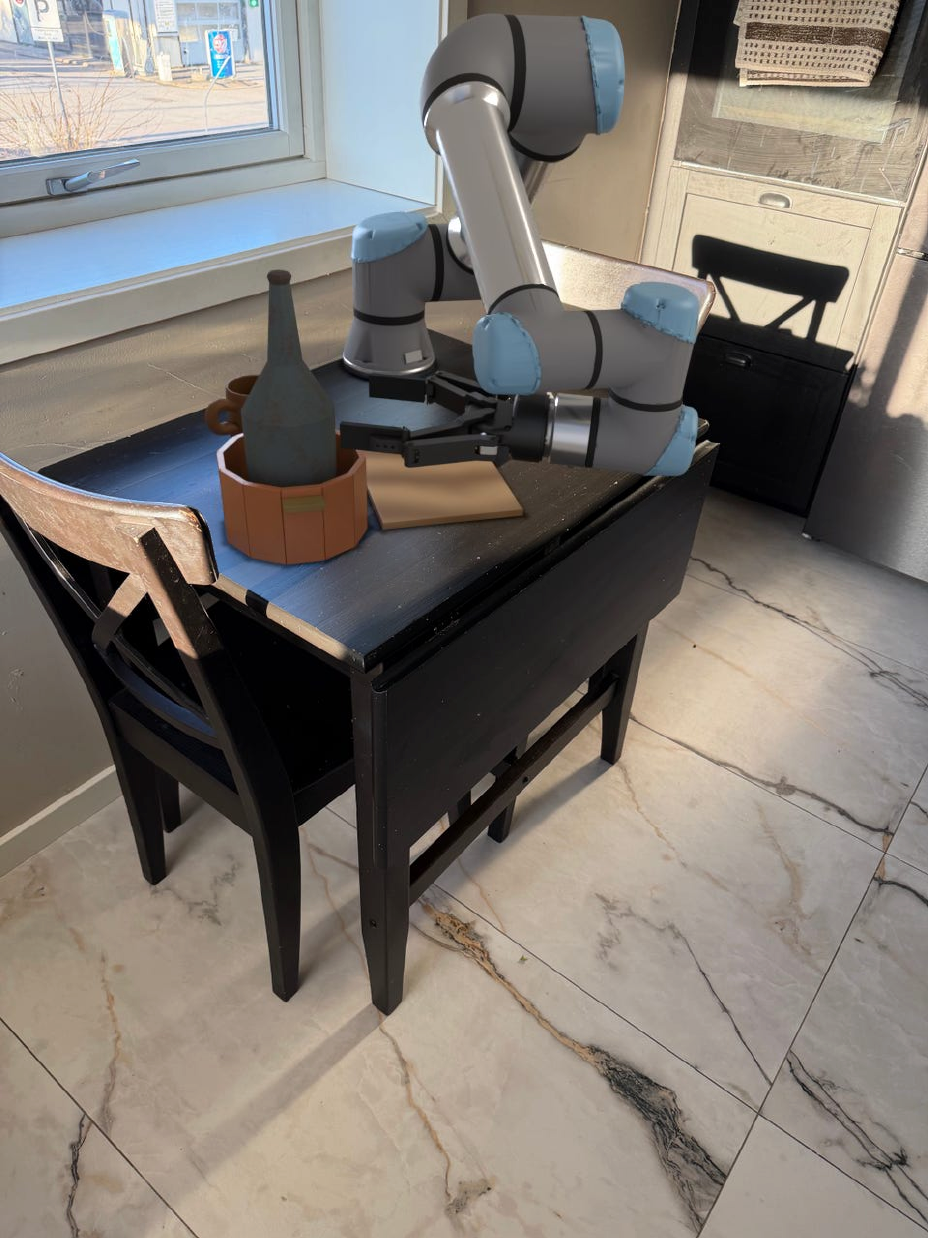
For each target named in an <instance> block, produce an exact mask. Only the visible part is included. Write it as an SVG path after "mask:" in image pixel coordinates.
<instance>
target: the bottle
mask: <svg viewBox="0 0 928 1238" xmlns="http://www.w3.org/2000/svg"><path fill="white" fill-rule="evenodd" d="M266 279H267V281H268V307H267V308H268V310H267V352H266V354H267V355H266V361H265V365H264V366H263V367H262V370H261V372H260V373H259V374H258V375H259V377H258V379H257V381H256V383H255V384H254V386H253V388H252V390H251V392H250V394H249V396H248V397H247V399H246V401H245V403H244V405H243V407H242V409H241V417H242V427H243V436H244V446H245V456H246V465H247V475H248V482H252V483H258V484H264V485H269V486H275V487H281V488H283V487H294V486H305V485H317V484H321V483H324V482H326V481H329V480H331V479H334V478H336V477H337V456H336V429H337V428H336V406H335V403H334V402H333V400H332V399H331V397H330V396H329V395H328V393H327V392H326V390H325V389H324V388H323V386H322V385H321V383H320V381H318V379H317V377H316V376H315V375H314V374H313V372H312V370H311V369H310V368H309V366H308V365H307V363H306V362H305V361H304V359H303V354H302V350H301V349H302V347H301V342H300V335H299V329H298V324H297V318H296V311H295V306H294V298H293V294H292V287H291V279H292V274H291V273H290V271H288V270H286V269H271V270H269V271H268V272H267V275H266Z"/></svg>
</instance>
